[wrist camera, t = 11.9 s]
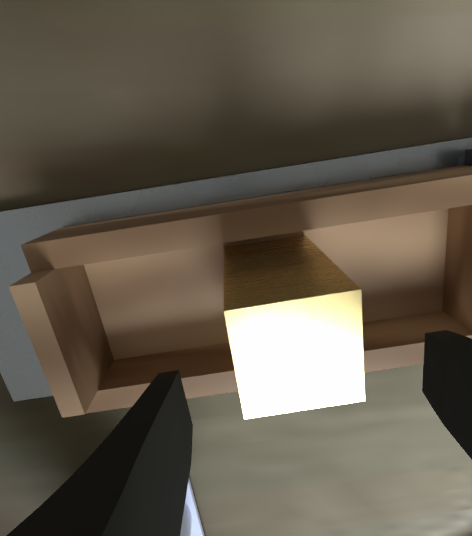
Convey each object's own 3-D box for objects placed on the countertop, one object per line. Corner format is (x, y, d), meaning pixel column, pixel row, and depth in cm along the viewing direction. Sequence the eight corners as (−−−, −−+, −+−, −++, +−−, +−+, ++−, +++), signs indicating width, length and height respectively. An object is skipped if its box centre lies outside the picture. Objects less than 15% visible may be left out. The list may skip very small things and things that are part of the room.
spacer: (311, 307, 17) (365, 401, 11) (236, 319, 17) (244, 419, 11) (304, 234, 16) (361, 289, 9) (223, 247, 16) (223, 311, 9)
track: (487, 325, 20) (531, 353, 17) (19, 394, 20) (-14, 433, 17) (509, 131, 16) (570, 125, 13) (-59, 220, 17) (-117, 233, 14)
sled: (449, 320, 19) (521, 372, 14) (107, 371, 19) (70, 438, 15) (460, 165, 16) (554, 169, 11) (59, 227, 16) (-5, 255, 12)
